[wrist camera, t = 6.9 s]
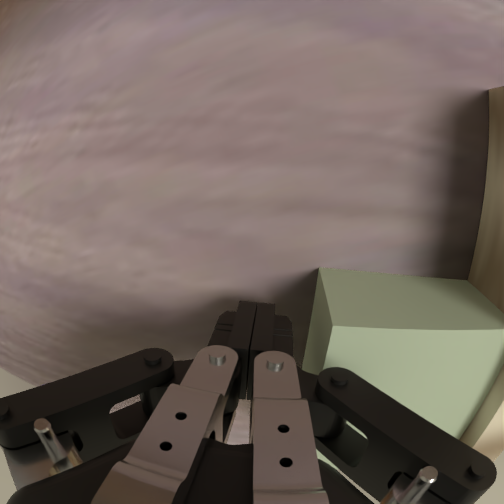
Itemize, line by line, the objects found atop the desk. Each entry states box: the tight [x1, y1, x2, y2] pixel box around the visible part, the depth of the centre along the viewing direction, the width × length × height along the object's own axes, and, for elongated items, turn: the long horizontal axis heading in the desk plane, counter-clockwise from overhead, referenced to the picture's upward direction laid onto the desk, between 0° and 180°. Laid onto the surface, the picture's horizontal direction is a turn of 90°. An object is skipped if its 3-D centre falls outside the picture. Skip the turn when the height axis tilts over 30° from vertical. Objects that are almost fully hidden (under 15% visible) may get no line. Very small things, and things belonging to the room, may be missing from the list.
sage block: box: [302, 267, 504, 469], centre depth 13 cm, size 8×8×5 cm
